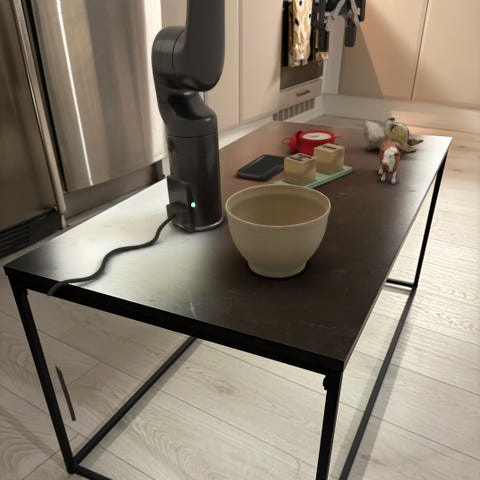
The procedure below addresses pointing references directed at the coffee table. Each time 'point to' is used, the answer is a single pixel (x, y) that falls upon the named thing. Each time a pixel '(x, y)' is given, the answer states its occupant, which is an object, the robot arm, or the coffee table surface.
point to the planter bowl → (277, 226)
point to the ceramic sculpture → (389, 135)
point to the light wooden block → (299, 169)
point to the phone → (262, 167)
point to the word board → (320, 178)
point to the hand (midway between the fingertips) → (336, 49)
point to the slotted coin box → (329, 158)
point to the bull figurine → (389, 159)
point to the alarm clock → (309, 141)
